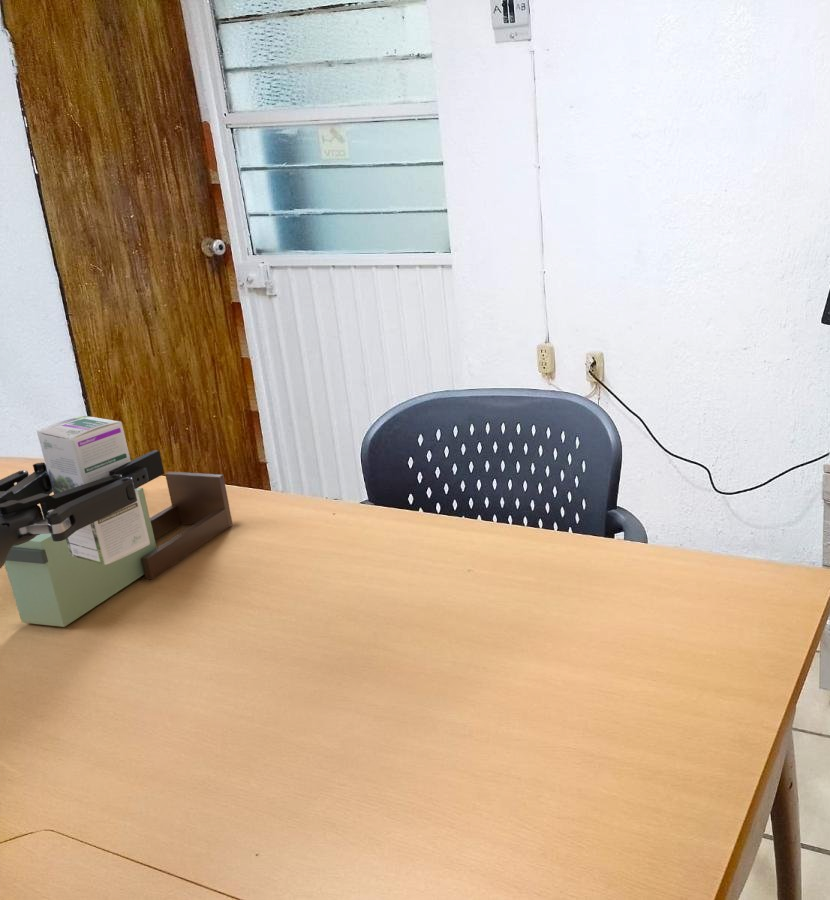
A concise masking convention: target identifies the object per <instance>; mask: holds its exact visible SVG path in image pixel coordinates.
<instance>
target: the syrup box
mask: <svg viewBox="0 0 830 900" xmlns="http://www.w3.org/2000/svg"><path fill="white" fill-rule="evenodd" d="M123 426H124V425H123V422H122V421H121V420H120V421H119V420H112V419H108V418H103V417H102V418H101V417H96V416H89V415H82V416H77V417H73V418H69V419H66V420H62V421H60V422H59V421H58V422H56V423H54V424H50V425H49V426H46V427H43V428H41V429H38V430H36V433H37V437H38V440H39V445H40V448H41V453H42V456H43V460H44V463H45V464H46V467H47V471H48V475H49V479H50V482H51V486H52V489H53V492H52V493H53V494H57V493H60V492H63V491H66V490H69V489H72V488H75V487H78V486H81V485H84V484H87V483H90V482H93V481H96V480H99V479H102V478H105V477H108V476H110V475H109V471H111V470H114V469H116V468H118V467H120V466H122V465H124V464H126V463H128V462H130V461H132V460H131V456H130V451H129V447H128V444H127V438H126V434H125V431H124V427H123ZM135 493H136V497H137V501H136V502H135V503H133V504H131V505H128V506H126V507H124V508H122V509H120V510H118V511H116V512H114V513H112V514H110V515H108V516H106V517H104V518H102V519H100V520H98V521H95V522H93V523H91V524H89V525H87V526H85V527H83V528H81V529H79V530H77V531H76V532H74V533H73V534H72V535H71V536H69V537H68V538H67V539H66V541H67V545H68V549H69V552H70V555H71V556H73V557H77V558H81V559H84V560H88V561H92V562H96V563H99V564H103V565H107V564H109V563H112V562H114V561H117V560H119V559H121V558H123V557H125V556H128V555H130V554H132V553H134V552H136V551H138V550H140V549H142V548H144V547H146V546H148V545H150V541H149V536H148V532H147V528H146V524H145V520H144V515H143V511H142V507H141V503H140V498H139V494H138V490H137V488H136V489H135Z"/></svg>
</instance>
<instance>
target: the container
mask: <svg viewBox="0 0 830 900" xmlns="http://www.w3.org/2000/svg"><path fill="white" fill-rule="evenodd" d="M137 490H138V494H139V498H140V503H141V507H142V511H143V515H144V520H145V524H146V528H147V532H148V536H149V541H150V545H148V546H146V547H144V548H142V549H140V550H138V551H136V552H134V553H132V554H130V555H128V556H125V557H123V558H121V559H119V560H117V561H114V562H112V563H109V564H107V565H103V564H99V563H96V562H92V561H88V560H84V559H81V558H77V557H73V556H71V555H70V552H69V549H68V545H67V541H66V539H65V540H62V541H57V542H55V541H53V540H52V536H51V534H40V535H37V536H36V537H35V538H33V539H31V540H30V541H28V542H25V543H22V544H20V545H16V546H13V547H12V548H11V550H10V552H9V554H8V556H7V559H6V561H5V563H4V568H5V571H6V574H7V578H8V581H9V585H10V588H11V590H12V594H13V598H14V602H15V604H16V607H17V611H18V614H19V617H20V621H21V623H26V624H32V625H33V624H34V625H44V626H50V627H51V626H52V627H61V628H65V627H67V626H68V625H70V624H71V623H74V621H76V620H78V619H79V618H80V617H82V616H84V615H85V614H87V613H88V612H89V611H91V610H93V609H94V608H96V607H97V606H99V605H100V604H102V603H103V602H105V601H106V600H108V599H109V598H111V597H112V596H114V595H116V594H117V593H118V592H120V591H122V590H123V589H124V588H126V587H128V586H129V585H131V584H132V583H133V582H135V581H136V580H138V579H140V578H142V576H145V573H144V569H143V565H142V561H141V558H142V557H143V556H145V555H147V554H148V553H150V552H151V551H153V550H154V549H156V548H158V547H157V544H156V540H155V538H154V534H153V530H152V525H151V521H150V518H151V516H150V512H149V508H148V504H147V500H146V495H145V491H144V487H138V488H137ZM43 519H44V516H43Z"/></svg>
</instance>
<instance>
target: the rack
mask: <svg viewBox="0 0 830 900" xmlns="http://www.w3.org/2000/svg"><path fill="white" fill-rule="evenodd" d="M164 476H165V480H166V484H167V485H166V486H167V490H168V493H169V499H170V503H171V505H170V506H168V507H166V508H164V509H163V510H161V511H159V512H158V513H156V514H154V515H152V516H150V521H151V525H152V530H153V534H154V538H155V541H156V540H157V539H159V538H161V537H162V536H164V535H166V534H167V533H169V532H170V531H172V530H174V529H175V528H177V527H179V526H180V525H191V526H189V527H188V528H186V529H185V530H183V531H182V532H180V533H178V534H176V535H175V536H174V537H173V536H172V538H170V539H168V540H167V541H166V542H164V543H162V544H161V545H159V546H158V547H157V548H156V549H154V550H153V551H151V552H150V553H148V554H147V555H145V556H143V557H142V558H141V561H142V565H143V569H144V573H145V574H144V578H145V579H147V580H154V579H155V578H156V577H158V576H159V575H160V574H162V573H164V572H165V571H167V570H169V568H171V567H172V566H174V565H176V564H177V563H178V562H181V560H183V559H184V558H185V557H187V556H189V555H190V554H192V553H193V552H194V551H196V550H197V549H199V548H200V547H202V546H204V545H205V544H206V543H208V542H209V541H211V540H212V539H214V538H216V537H217V536H218V535H220V534H221V533H222V532H224V531H226V530H227V529H229V528H230V527H232V526H233V525H234V524H233V518H232V513H231V508H230V503H229V499H228V493H227V487H226V482H225V477H224V474H218V473H217V474H216V473H201V472H199V473H198V472H183V471H167V472H166V473H164Z"/></svg>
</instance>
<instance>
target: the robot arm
mask: <svg viewBox="0 0 830 900" xmlns="http://www.w3.org/2000/svg"><path fill="white" fill-rule="evenodd" d="M163 465H164V464H163V460H162V456H161V452H160V450H156V449H155V450H154V449H153V450H151V451H149V452H147V453H145V454H143V455H141V456H139V457H137V458H135V459H132V460H131V461H130V462H128V463H126V464H124V465H122V466H120V467H118V468H116V469H114V470H111V471H109V475H110V476H108V477H105V478H102V479H99V480H96V481H93V482H90V483H87V484H84V485H81V486H78V487H75V488H72V489H69V490H66V491H63V492H60V493H57V494H54V493H53V489H52V486H51V482H50V479H49V475H48V471H47V467H46V464H45V462H37V463H33V464H32V468H33V472H32V473H30V474H29V471H28V470H24V469H23V470H22V469H21V470H18V471H16V472H14V473H12V474H10V475H7V476H5V477H3V478H1V479H0V570H1V569H2V568H3V567H4V566H5V564H4V563H5V561H6V559H7V556H8V554H9V552H10V550H11V548H12V547H13V546H16V545H20V544H22V543H25V542H28V541H30V540H31V539H33V538H35V537H36V536H37V535H40V534H51V536H52V540H53V541H55V542H57V541H62V540H65V539H67V538H68V537H69V536H71V535H72V534H73V533H74V532H76V531H77V530H79V529H81V528H83V527H85V526H87V525H89V524H91V523H93V522H95V521H98V520H100V519H102V518H104V517H106V516H108V515H110V514H112V513H114V512H116V511H118V510H120V509H122V508H124V507H126V506H128V505H131V504H133V503H135V502H136V501H137V497H136V493H135V489H136V488H141V487H142V486H144V485H146V484H148V483H150V482H152V481H153V480H155V479H158V478H159V477H161V476H163V475H165V470H164V466H163ZM52 493H53V494H52ZM43 516H44V519H43Z"/></svg>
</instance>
